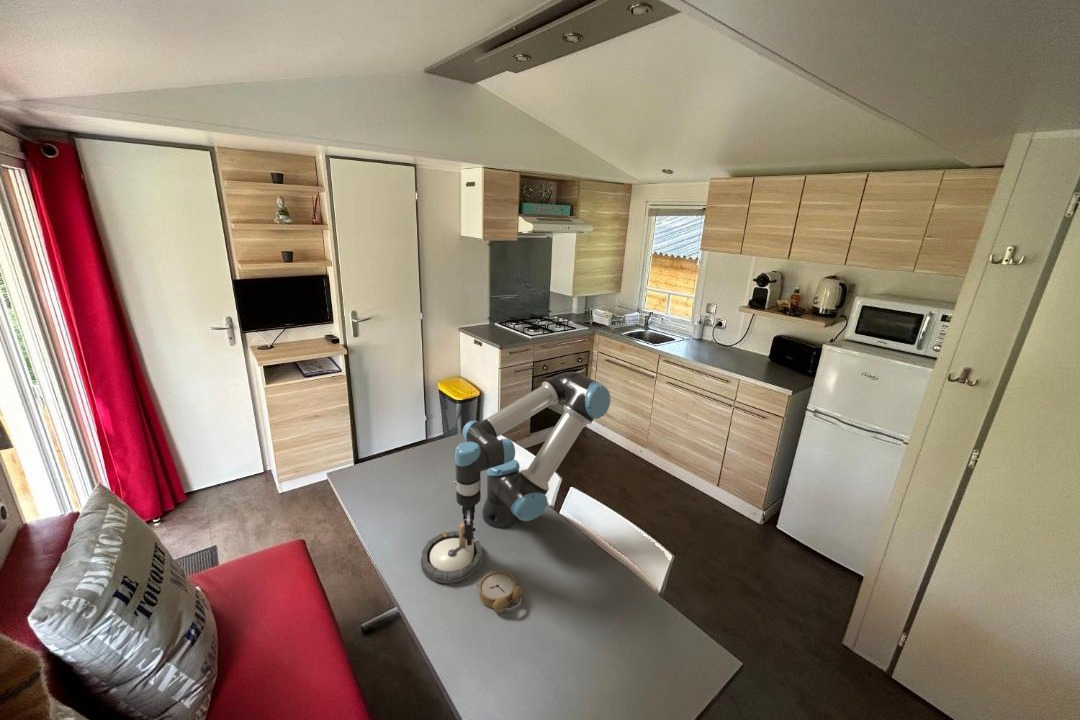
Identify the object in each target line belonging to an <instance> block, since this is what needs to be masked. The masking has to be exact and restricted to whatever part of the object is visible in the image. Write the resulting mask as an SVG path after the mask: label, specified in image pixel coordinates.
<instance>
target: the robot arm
mask: <svg viewBox="0 0 1080 720" xmlns="http://www.w3.org/2000/svg"><path fill="white" fill-rule="evenodd" d="M561 402H564V404H563V411H564V412H563V414H562V415H561V416H560V418H559V419H558V421H557V423H556V424H555V426H554V427H553V429H552V430H551V432H550V433H549V435H548V437H547V438H546V440H545V442H544V443H543V445H542V447H540V449H539V450H538V452H537V454H536V456H535V457H534V458H533V460H532V461H531V463H530V465H529V466H528V467H527V468H525V469H522V470H521V471H520V463H519V461H518V460H516V459H515V457H516V448H515V447H516V446H515V444H514V443H513V441H512V440H511V439H510V438H501V439H498V437H500V436H502V435H503V434H505V433H506V432H508V431H509V430H512V429H513V428H515V427H517V426H518V425H520V424H521V423H524V422H525V421H526V420H528V419H529V418H531V417H532V416H534V415H536V414H537V413H540V412H541V411H542V410H544V409H546V408H547V407H548V406H550V405H555V406H556V405H558V404H560V403H561ZM610 404H611V393H610V391H609V389H608V388H607V387H606V386H604V385H603V384H601V383H600V382H599V381H596V380H594V379H592V378H589V377H588V376H586V375H584V374H582V373H580V372H577V371H566V372H563V373H558V374H556V375H554V376H552V377H550V378H548V379H546V380H544V381H543V382H541V386H540V387H538V388H536V389H534V390H532V391H531V392H529V393H528V394H526V395H524V396H523V397H521V398H519V399H517V400H516V401H514V402H512V403H510V404H509V405H506V406H505V407H504V408H502V409H500V410H498V411H497V412H494V413H493V414H492V415H490V416H489V417H487V418H485V419H484V420H482V421H477V420H469V421H468V422H466V423H465V425H464V426H463V428H462V431H461V432H462V433H461V434H462V437H463V438H464V440H465V441H464V442H461V443H459V444H458V445H457V446H456V448H455V451H454V452H455V453H454V464H455V480H454V481H453V484H454V485H456V486H455V487H456V491H455V493H456V495H455V496H456V498H455V499H456V502H457V504H458V505H459V506H461V507H462V508H461V511H462V513H461V514H462V515H463V517H462V518H463V522H464V524H465V534H463V537H465V552H469V551H474V537H475V536H474V535H475V534H474V533H475V532H476V527H474V520H475V512H476V505H478V504H479V503H480V501H481V496H482V495H481V489H482V487H481V483H482V481H481V477H482V476H481V472H482V471H483V472H484V471H487V472H486V474H487V479H486V481H487V482H486V483H487V485H486V486H487V487H486V491H487V493H486V494H487V495H486V499H485V501H484V503H483V506H482V513H481V514H482V519H483V521H484V522H485V523H486V524H487V525H489V526H491V527H493V528H498V529H505V528H510V527H513V526H514V525H516V524H518V523H519V522H520V521H523V522H528V521H533V520H535V519H536V518H538V517H539V516H541V515H543V513H544V511H545V510H546V508H547V505H548V498H547V497H548V496H547V494H548V491H549V490H550V487H549V482H550V480H551V478H553V476H554V475H555V473H556V472H557V470H558V469H559V466H560V465H561V463H562V462H563V460H564V459H565V457H566V456H567V453H568V452H569V451H570V449H571V448H572V446H573V444H574V443H575V441H576V440H577V438H578V436H579V435H580V433H581V432H582V430H583V429H584V427H585V426H586V425H590V424H592V422H593V421H594V420H597V419H601V418H602V417H604V416H605V415H606V414H607V412H608V410H609V408H610V406H611V405H610Z"/></svg>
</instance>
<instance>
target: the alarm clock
mask: <svg viewBox="0 0 1080 720" xmlns="http://www.w3.org/2000/svg"><path fill="white" fill-rule="evenodd" d="M476 586H477V587H478V591H479V592H478V594H479V595H478V596H479V600H480V602H481V604H483V605H484V606H486V607H488V608H492V609H493V610H494V611H495V612H496V613H498V614H501V613H504V612H514V611H515V610H517V609H519V608H520V606H521V604H522V597H524V594H523V590H522V587H521V586H520V585H517V583H516V580H515V578H514V577H513V575H512V574H510V573H508V572H505V571H498V570H497V571H492V572H490V573H487V574H486V575H484V576H483V577H482V578H481V580H480V582H479V583H477V584H476ZM511 603H517V604H516V605H515V606H513V607H509V605H510V604H511Z"/></svg>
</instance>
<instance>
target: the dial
mask: <svg viewBox="0 0 1080 720" xmlns="http://www.w3.org/2000/svg"><path fill="white" fill-rule="evenodd" d="M458 531H459V538H450V539H445V540H443V541H441V542H439V543H438V544H436V545H435V546H434V547H433V549H432V550H431V552H430V563H431V565H432V566H433V567H434V568H435V569H437V570H442V571H446V572H450V571H456V570H461V569H463V568H464V567H466V566H467V565H469V564H470V563H471V562H472V561H473V558H474V551H469V552H465V537H463V534H465V524H464V521H461V522H460V523H459V524H458Z"/></svg>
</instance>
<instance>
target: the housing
mask: <svg viewBox="0 0 1080 720" xmlns="http://www.w3.org/2000/svg"><path fill="white" fill-rule="evenodd" d="M450 538H459V530H453V531H448V532H446V531H443V532H442V533H440V534H437V535H436V536H434V537H433V538H431V539H429V540H428V542H426V544H425V546H424V548H423V549H422V550H421V559H420V567H421V571H422V572H423V573H422V574H423V575H424V576H425V577H426V578H427V579H429V580H431V582H434V583H436V584H441V585H455V584H459V583H462V582H465V581H467V580H469V579H470V578H472V577H473V576H474V575H475V574H476V573H478V571H479V570H480V568H481V566H482V563H483V550H482V546H481V543H480V540H479V539H478V538H476V537H475V536H474V558H473V561H472V562H471V563H470V564H469V565H467V566H466V567H464V568H463V569H461V570H456V571H450V572H446V571H442V570H437V569H435V568H434V567H433V566H432V565H431V563H430V552H431V550H432V549H433V547H434V546H435V545H436V544H438V543H439V542H441V541H443V540H445V539H450Z"/></svg>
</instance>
